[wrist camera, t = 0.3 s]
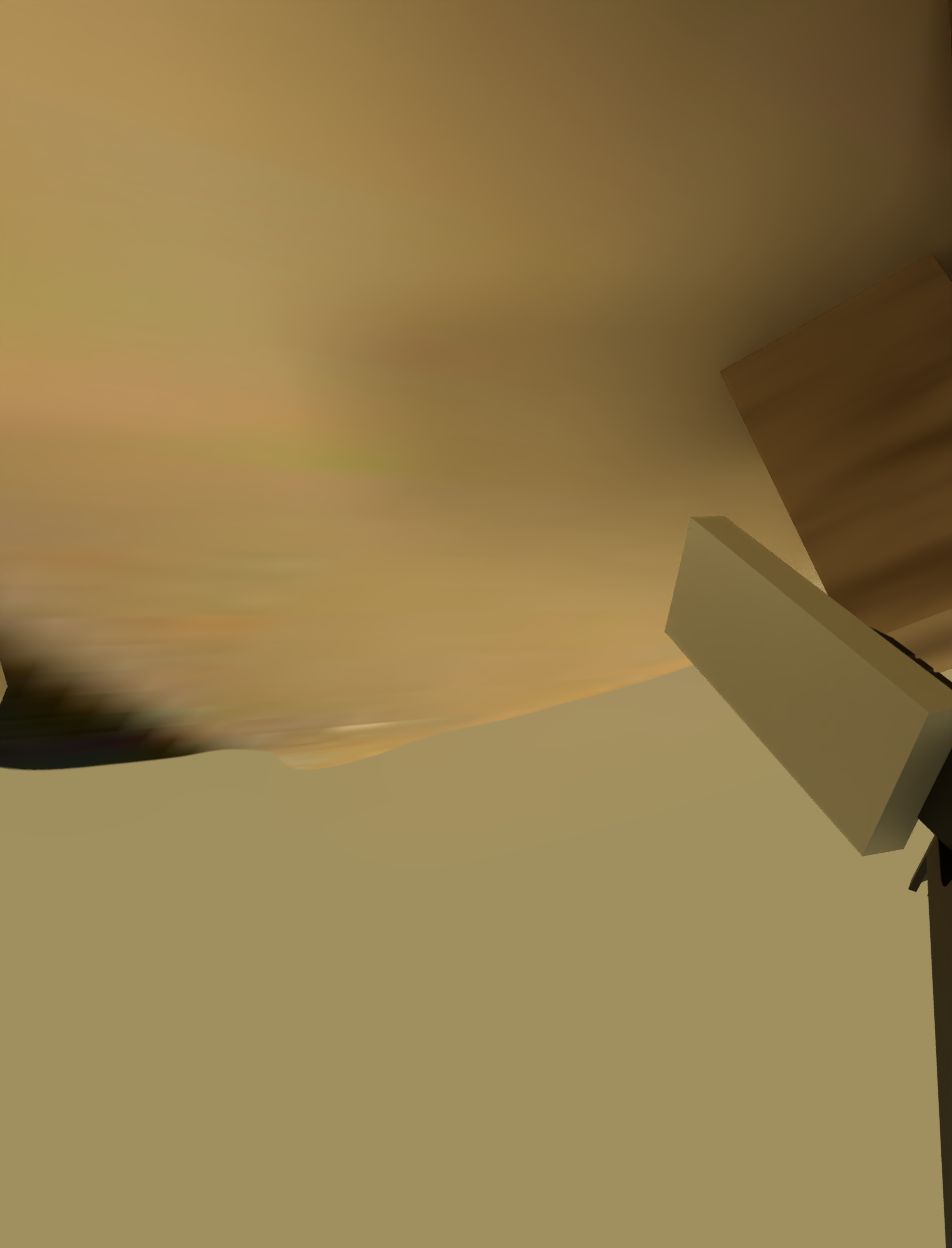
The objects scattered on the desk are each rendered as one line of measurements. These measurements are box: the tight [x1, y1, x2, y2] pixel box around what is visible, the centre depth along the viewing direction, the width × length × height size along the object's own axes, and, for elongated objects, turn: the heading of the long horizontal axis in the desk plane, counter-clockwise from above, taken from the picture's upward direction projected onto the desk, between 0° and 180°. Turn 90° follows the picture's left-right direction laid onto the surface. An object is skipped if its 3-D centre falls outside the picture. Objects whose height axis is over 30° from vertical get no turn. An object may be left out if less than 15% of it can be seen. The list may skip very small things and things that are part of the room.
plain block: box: [721, 254, 952, 673], centre depth 34 cm, size 9×9×14 cm
